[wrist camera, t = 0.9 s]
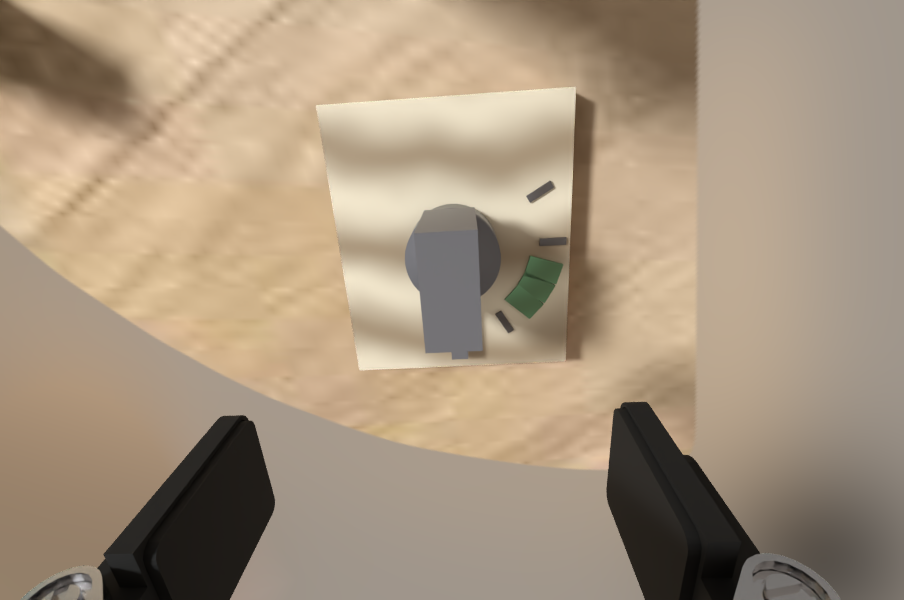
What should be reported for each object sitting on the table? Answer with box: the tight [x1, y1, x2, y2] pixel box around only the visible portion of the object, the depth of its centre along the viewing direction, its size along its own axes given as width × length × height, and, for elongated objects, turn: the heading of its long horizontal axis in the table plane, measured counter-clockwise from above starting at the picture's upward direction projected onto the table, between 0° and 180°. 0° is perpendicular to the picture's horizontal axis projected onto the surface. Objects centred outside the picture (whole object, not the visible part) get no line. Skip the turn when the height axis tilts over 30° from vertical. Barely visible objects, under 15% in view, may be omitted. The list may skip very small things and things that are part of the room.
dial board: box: [316, 87, 576, 370], centre depth 31 cm, size 19×16×2 cm
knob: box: [405, 204, 501, 360], centre depth 27 cm, size 11×6×9 cm, turn 4°
